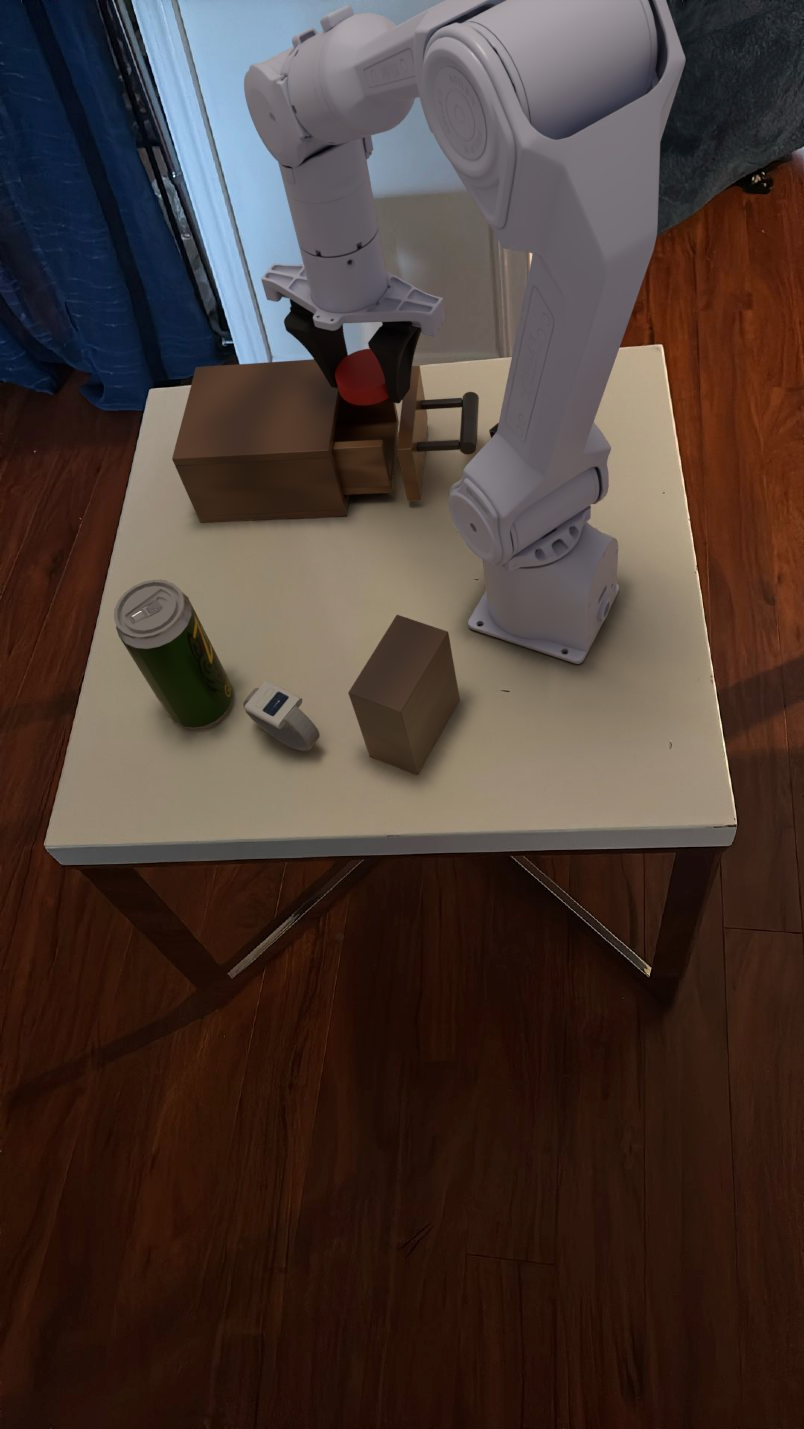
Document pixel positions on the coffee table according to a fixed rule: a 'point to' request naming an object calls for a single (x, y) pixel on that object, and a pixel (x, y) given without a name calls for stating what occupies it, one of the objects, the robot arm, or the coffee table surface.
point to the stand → (406, 693)
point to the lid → (361, 379)
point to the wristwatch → (281, 716)
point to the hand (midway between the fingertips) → (370, 387)
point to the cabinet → (260, 443)
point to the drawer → (395, 439)
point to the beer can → (174, 653)
